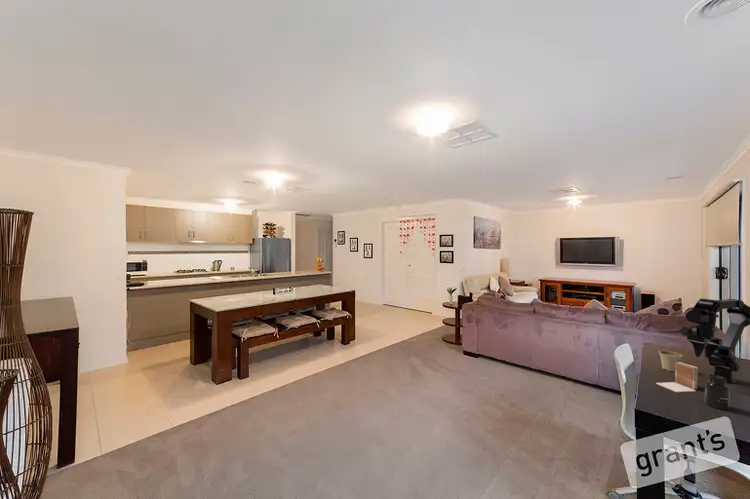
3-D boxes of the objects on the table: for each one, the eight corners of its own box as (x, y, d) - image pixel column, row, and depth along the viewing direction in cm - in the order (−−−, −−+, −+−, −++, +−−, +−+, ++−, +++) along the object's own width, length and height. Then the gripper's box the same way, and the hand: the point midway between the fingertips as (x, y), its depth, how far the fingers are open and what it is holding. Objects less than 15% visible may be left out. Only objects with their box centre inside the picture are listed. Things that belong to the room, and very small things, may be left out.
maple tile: (678, 382, 150) (679, 362, 150) (697, 389, 144) (697, 367, 144) (674, 383, 150) (675, 362, 150) (693, 389, 143) (693, 367, 143)
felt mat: (674, 383, 150) (674, 382, 150) (695, 391, 141) (695, 390, 141) (656, 383, 149) (656, 382, 149) (676, 392, 140) (676, 391, 140)
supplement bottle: (725, 411, 123) (726, 381, 123) (701, 404, 129) (702, 375, 129) (731, 408, 126) (732, 378, 126) (708, 400, 132) (708, 372, 132)
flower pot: (687, 373, 162) (687, 357, 162) (666, 372, 164) (666, 355, 164) (673, 367, 171) (674, 351, 171) (653, 365, 173) (654, 350, 173)
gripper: (694, 322, 162) (690, 352, 161) (675, 319, 155) (670, 350, 154) (724, 328, 152) (720, 360, 151) (705, 325, 145) (701, 358, 144)
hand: (702, 357), depth 150 cm, fingers open, 9 cm apart
